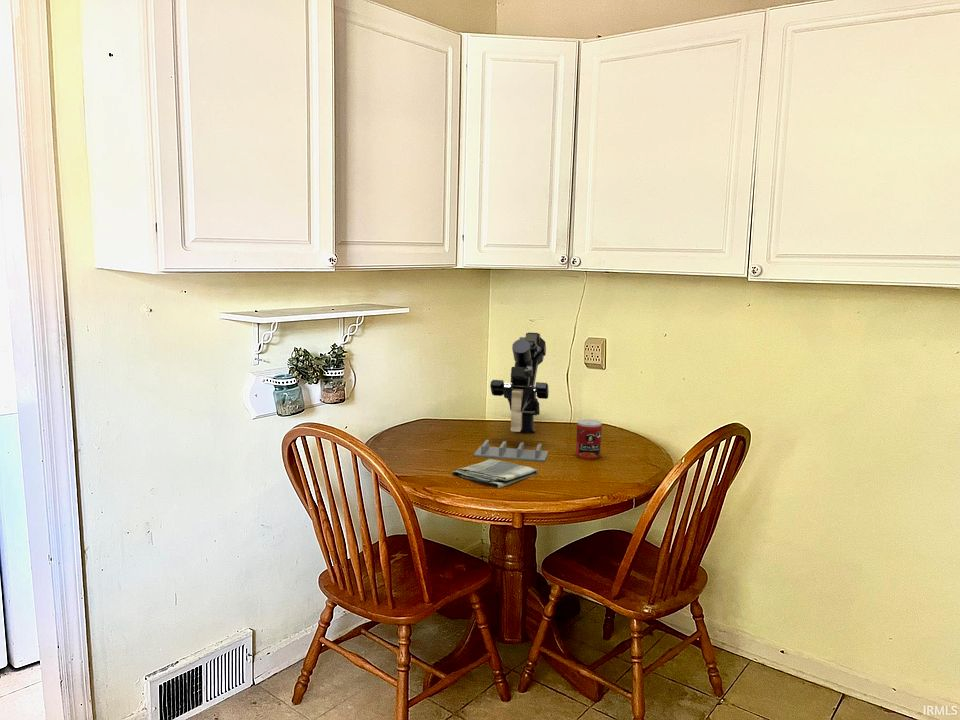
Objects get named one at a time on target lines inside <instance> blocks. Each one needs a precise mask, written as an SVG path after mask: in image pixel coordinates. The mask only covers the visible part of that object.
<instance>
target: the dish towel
mask: <svg viewBox="0 0 960 720" xmlns="http://www.w3.org/2000/svg"><path fill="white" fill-rule="evenodd" d="M538 473H539V471H538V470H537V469H536V468H534V467H531V466H527V465H521V464H517V463H513V462H509V461H504V460H499V459H495V458H488V459H486V460H484V461H482V462H479V463H474V464H473V463H472V464H470V465H468V466H464V467H459V468H457V470H453V471H451V475H452V476H457V477H458V476H459V478H463V479H464V480H468V481H472V482H473V481H474V482H475V483H479V484H482V485H483V486H491V487H493V488H496V489H501V488H504V487H506V486H509V485H512V484H514V483H516V482H519V481H523V480H525V479H527V478H530V477H532V476H533V477H534V476H536V475H537V474H538ZM454 474H455V475H454Z"/></svg>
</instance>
